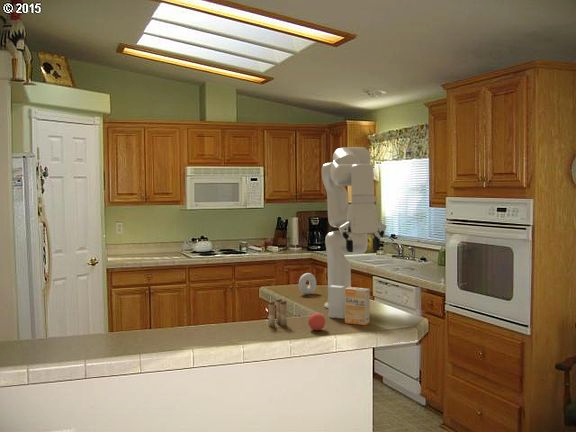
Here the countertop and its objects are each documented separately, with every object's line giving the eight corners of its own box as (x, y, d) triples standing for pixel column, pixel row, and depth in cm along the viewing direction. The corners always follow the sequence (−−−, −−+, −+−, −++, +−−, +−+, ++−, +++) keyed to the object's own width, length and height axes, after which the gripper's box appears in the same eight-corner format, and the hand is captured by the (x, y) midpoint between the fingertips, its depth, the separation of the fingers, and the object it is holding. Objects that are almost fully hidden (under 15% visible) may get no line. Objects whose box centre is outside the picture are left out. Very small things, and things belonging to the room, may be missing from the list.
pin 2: (278, 321, 224) (278, 298, 223) (283, 322, 222) (283, 299, 222) (275, 323, 222) (274, 299, 221) (280, 323, 221) (279, 300, 220)
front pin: (282, 324, 220) (282, 300, 219) (288, 325, 219) (287, 301, 218) (279, 325, 218) (278, 301, 217) (284, 326, 217) (284, 302, 216)
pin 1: (271, 324, 220) (270, 301, 219) (276, 325, 218) (275, 301, 218) (267, 326, 218) (267, 302, 217) (272, 326, 216) (272, 302, 216)
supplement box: (344, 323, 220) (344, 288, 219) (349, 320, 224) (349, 286, 223) (365, 326, 216) (365, 290, 215) (370, 323, 220) (370, 287, 219)
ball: (313, 327, 215) (313, 310, 214) (328, 329, 212) (328, 312, 211) (305, 331, 210) (304, 314, 209) (320, 333, 206) (319, 316, 206)
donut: (313, 292, 280) (312, 271, 279) (318, 293, 277) (317, 272, 277) (297, 295, 273) (296, 273, 273) (302, 296, 271) (301, 274, 270)
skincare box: (347, 316, 230) (346, 285, 230) (342, 319, 226) (342, 287, 226) (332, 315, 233) (332, 284, 233) (327, 317, 229) (327, 286, 229)
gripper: (380, 199, 207) (380, 248, 208) (334, 200, 202) (335, 251, 203) (390, 200, 200) (391, 250, 201) (343, 201, 195) (344, 253, 195)
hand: (363, 251), depth 202 cm, fingers open, 9 cm apart
